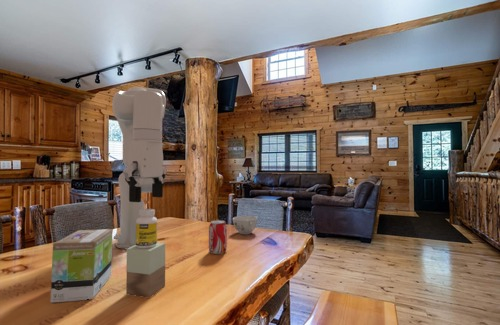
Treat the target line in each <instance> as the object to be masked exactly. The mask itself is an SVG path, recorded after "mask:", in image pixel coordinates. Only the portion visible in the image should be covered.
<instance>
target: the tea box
mask: <svg viewBox="0 0 500 325" xmlns="http://www.w3.org/2000/svg"><path fill="white" fill-rule="evenodd" d="M112 253H113V229H109V228H106V229H105V228H104V229H80V230H79V229H78V230H76V231H74V232H72V233H70V234H69V235H67V236H65V237H63V238H60V239H59V240H57V241H55V242H53V244H52V258H51V260H52V261H51V285H50V300H49V301H50V302H49V303H66V302H67V303H68V302H77V301H87V299H89V300H93V299H94V298H95V297H96V295H97V294H98V293H99V292H100V290H102V288H103V286H104V285H105V284H106V283H107V281H109V279H110V278H111V276H112V265H113V264H112V260H113V258H112V257H113V256H112V255H113V254H112Z"/></svg>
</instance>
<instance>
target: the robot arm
mask: <svg viewBox="0 0 500 325" xmlns="http://www.w3.org/2000/svg"><path fill="white" fill-rule="evenodd" d="M111 103H112V105H111V106H112V113H113V116H114V118H116V120H117V123H118V126H119V128H120V131H121V134H122V164H123V165H124V166H125V168H124V169H123V170H122V173H120V174H119V177H118V188H119V198H120V221H119V222H120V227H119V228H120V230H119V231H120V233H115V235H114V236H113V240H117V242H116V243H115V246H116V248H118V249H122V250H123V249H124V250H127V248H130V247H132V246H134V245H136V220H137V219H138V218H140V216H139V210H142V209H146V207H145V206H146V205H145V201H144V199H143V198H142V194H145V193H146V194H147V193H151V197H152V198H163V197H164V196H163V195H164V194H163V190H164V189H163V188H164V183H165V178H166V173H167V170H168V169H167V167H165V165H164V153H163V152H164V151H163V144H162V143H163V119H164V118H165V110H166V105H167V98H166V94H165V93H164V92H163V90H161V89H158V88H152V87H151V88H150V87H144V86H131V87H129V88H128V89H127V90H119V91H116V92H115V93H114V95H113V97H112V102H111Z"/></svg>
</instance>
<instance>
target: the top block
mask: <svg viewBox="0 0 500 325" xmlns="http://www.w3.org/2000/svg"><path fill="white" fill-rule="evenodd" d="M164 265H165V266H166V243H164V242H157V244H156V246H154V247H151V248H137V247H136V245H134V246H132V247H130V248H127V249H126V273H127V272H133V273H141V274H149V275H150V274H151V273H153V272H155V271H156V270H158V269H159V268H161V267H163V266H164Z"/></svg>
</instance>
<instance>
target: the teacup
mask: <svg viewBox="0 0 500 325" xmlns="http://www.w3.org/2000/svg"><path fill="white" fill-rule="evenodd" d="M232 223H233V226H234V228H235V230H236V231H237V232H238V233H239V234H240V235H250V234H251V233H252V232H253V231H254V230H255V229H256V227H257V224H258V216H256V215H239V216H234V217H232Z"/></svg>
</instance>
